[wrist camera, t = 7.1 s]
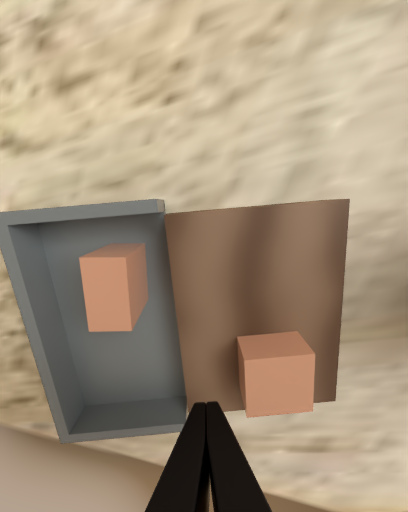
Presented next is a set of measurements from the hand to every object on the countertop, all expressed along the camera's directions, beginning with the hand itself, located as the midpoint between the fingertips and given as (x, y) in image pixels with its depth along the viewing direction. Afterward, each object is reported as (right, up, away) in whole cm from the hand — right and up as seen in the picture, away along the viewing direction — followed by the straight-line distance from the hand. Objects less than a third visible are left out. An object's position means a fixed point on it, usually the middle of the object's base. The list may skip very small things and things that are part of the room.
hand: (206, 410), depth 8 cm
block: (+5, -3, +9) cm, 10 cm away
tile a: (-4, +4, +7) cm, 9 cm away
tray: (-7, 0, +10) cm, 13 cm away
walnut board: (+4, +1, +10) cm, 11 cm away
